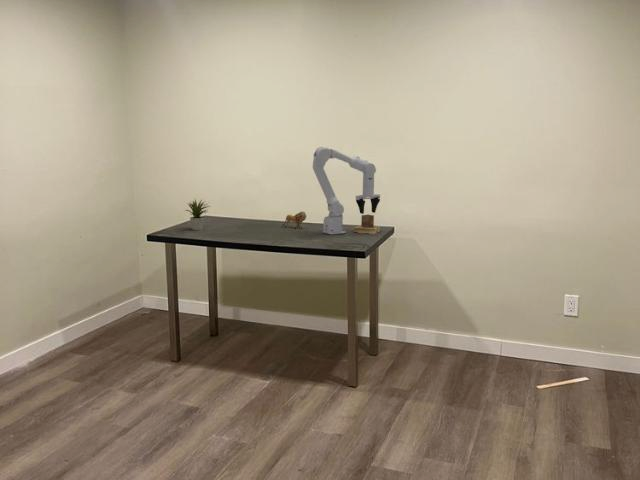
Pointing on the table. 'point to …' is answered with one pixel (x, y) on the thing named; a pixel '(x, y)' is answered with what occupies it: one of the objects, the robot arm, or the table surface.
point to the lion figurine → (296, 219)
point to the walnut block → (367, 221)
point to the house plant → (197, 215)
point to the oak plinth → (367, 229)
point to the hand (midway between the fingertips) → (367, 213)
